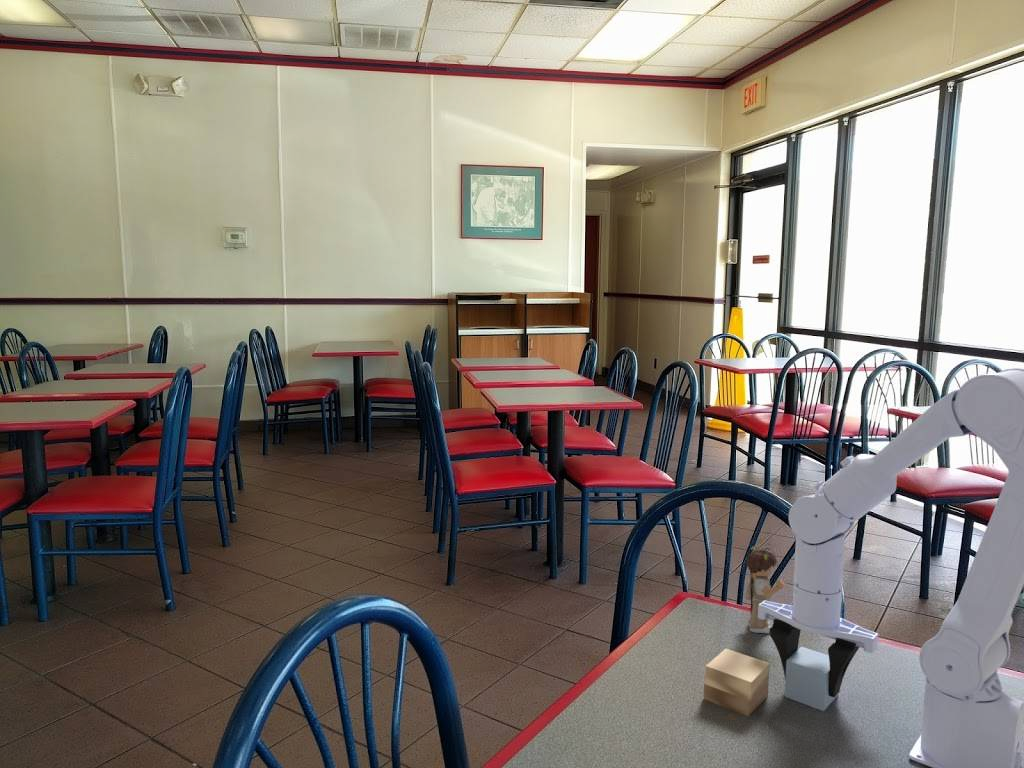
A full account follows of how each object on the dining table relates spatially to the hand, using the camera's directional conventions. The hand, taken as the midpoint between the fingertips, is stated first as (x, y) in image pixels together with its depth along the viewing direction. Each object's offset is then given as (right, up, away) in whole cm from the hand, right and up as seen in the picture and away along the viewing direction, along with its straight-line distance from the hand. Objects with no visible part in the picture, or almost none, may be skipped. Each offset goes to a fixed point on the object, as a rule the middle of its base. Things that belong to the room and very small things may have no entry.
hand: (811, 685), depth 96 cm
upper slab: (-10, +1, -1) cm, 10 cm away
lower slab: (-10, -2, 0) cm, 10 cm away
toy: (0, +1, +19) cm, 19 cm away
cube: (0, -1, 0) cm, 1 cm away
